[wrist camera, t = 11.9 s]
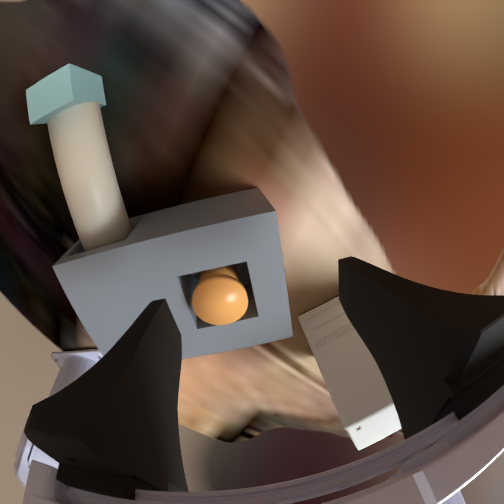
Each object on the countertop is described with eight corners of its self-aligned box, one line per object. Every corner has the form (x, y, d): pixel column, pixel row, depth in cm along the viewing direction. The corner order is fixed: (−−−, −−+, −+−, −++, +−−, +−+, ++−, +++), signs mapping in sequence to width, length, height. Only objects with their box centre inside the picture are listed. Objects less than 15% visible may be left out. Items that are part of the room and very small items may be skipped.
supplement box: (316, 357, 28) (355, 453, 17) (295, 314, 25) (343, 430, 14) (374, 328, 28) (429, 412, 16) (364, 280, 24) (440, 374, 13)
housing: (275, 289, 23) (292, 336, 18) (126, 319, 23) (110, 366, 17) (258, 187, 19) (275, 210, 14) (87, 231, 19) (52, 266, 13)
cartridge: (141, 230, 19) (121, 260, 14) (99, 241, 19) (73, 273, 14) (103, 75, 14) (72, 62, 9) (61, 95, 13) (23, 91, 9)
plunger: (245, 284, 20) (252, 318, 16) (202, 293, 19) (201, 329, 16) (236, 244, 18) (242, 274, 15) (190, 254, 18) (185, 286, 14)
